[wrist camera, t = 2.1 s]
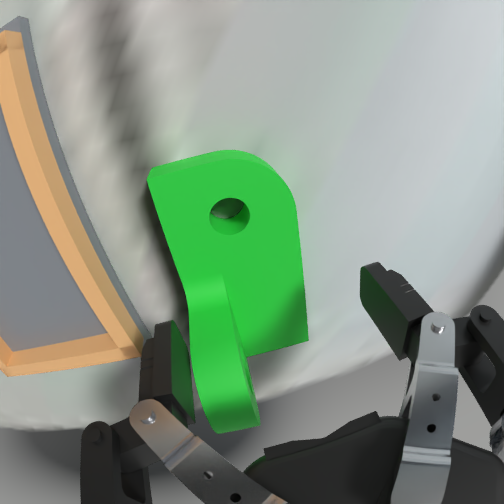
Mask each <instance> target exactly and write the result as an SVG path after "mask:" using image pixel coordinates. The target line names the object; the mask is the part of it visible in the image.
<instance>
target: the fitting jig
mask: <svg viewBox="0 0 504 504" xmlns="http://www.w3.org/2000/svg"><path fill="white" fill-rule="evenodd" d="M150 338H152V337H151V335H150V333H149V332H148V330H147V329H146V327H145V325H144V323H143V322H142V320H141V318H140V317H139V315H138V313H137V311H136V310H135V308H134V306H133V304H132V303H131V301H130V299H129V297H128V295H127V294H126V292H125V290H124V288H123V286H122V284H121V282H120V281H119V279H118V277H117V275H116V273H115V271H114V269H113V267H112V265H111V263H110V261H109V259H108V257H107V255H106V253H105V251H104V249H103V247H102V245H101V243H100V241H99V239H98V236H97V234H96V232H95V230H94V228H93V226H92V223H91V221H90V219H89V217H88V214H87V212H86V210H85V208H84V205H83V203H82V200H81V198H80V196H79V193H78V191H77V188H76V186H75V183H74V181H73V178H72V176H71V173H70V170H69V168H68V165H67V162H66V160H65V157H64V154H63V151H62V149H61V146H60V143H59V140H58V137H57V134H56V131H55V128H54V125H53V122H52V118H51V115H50V112H49V108H48V105H47V101H46V98H45V94H44V91H43V87H42V83H41V79H40V75H39V71H38V67H37V62H36V58H35V53H34V48H33V44H32V38H31V33H30V27H29V21H28V18H24V17H20V16H18V17H16V18H15V19H13V20H12V21H10V22H9V23H7V24H6V25H5V26H3V27H2V28H0V369H1V370H2V372H3V373H4V374H5V375H6V376H7V377H9V376H19V375H28V374H37V373H45V372H52V371H59V370H66V369H73V368H80V367H86V366H92V365H98V364H104V363H110V362H115V361H121V360H126V359H131V358H136V357H141V354H142V348H143V346H144V344H145V342H146V340H147V339H150Z"/></svg>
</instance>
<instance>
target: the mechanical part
mask: <svg viewBox="0 0 504 504" xmlns="http://www.w3.org/2000/svg"><path fill="white" fill-rule="evenodd" d="M147 182H148V186H149V189H150V192H151V195H152V198H153V201H154V204H155V207H156V211H157V214H158V217H159V220H160V223H161V225H162V228H163V231H164V234H165V237H166V240H167V243H168V246H169V248H170V251H171V254H172V257H173V260H174V262H175V265H176V268H177V271H178V273H179V276H180V279H181V281H182V284H183V287H184V291H185V294H186V299H187V303H188V310H189V334H190V353H191V361H192V368H193V373H194V378H195V383H196V387H197V391H198V394H199V398H200V401H201V404H202V407H203V410H204V412H205V415H206V417H207V419H208V421H209V423H210V425H211V427H212V429H213V430H214V431H215V432H216V433H218V434H220V433H226V432H231V431H236V430H241V429H246V428H251V427H255V426H259V425H260V417H259V411H258V407H257V402H256V398H255V393H254V389H253V384H252V380H251V375H250V371H249V366H248V362H247V357H249V356H253V355H257V354H261V353H265V352H269V351H273V350H277V349H281V348H284V347H288V346H292V345H295V344H299V343H302V342H306V341H309V339H308V325H307V313H306V300H305V289H304V278H303V267H302V257H301V247H300V238H299V229H298V220H297V211H296V205H295V201H294V198H293V196H292V193H291V191H290V189H289V188H288V186H287V185H286V183H285V182H284V181H283V180H282V178H281V177H280V176H279V175H278V174H277V173H276V172H275V170H274V169H273V168H272V167H271V166H270V165H269V164H267V163H266V162H265V161H264V160H262V159H260V158H259V157H257V156H255V155H252V154H250V153H247V152H243V151H237V150H221V151H215V152H211V153H207V154H203V155H198V156H194V157H191V158H187V159H183V160H179V161H175V162H172V163H168V164H164V165H161V166H157V167H154V168H152V169H151V171H150V173H149V175H148V178H147ZM225 198H236V199H239V200H241V201H243V202H244V205H243V208H242V209H241V211H240V212H239V213H238V214H237V215H236V216H234V217H231V218H227V219H223V218H218V217H216V216H214V215H213V214H212V213H211V212H210V211H211V209H212V207H213V206H214V205H215V204H216V203H217V202H218V201H220V200H222V199H225Z"/></svg>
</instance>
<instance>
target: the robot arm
mask: <svg viewBox="0 0 504 504" xmlns="http://www.w3.org/2000/svg"><path fill="white" fill-rule="evenodd" d="M360 299H361V302H362V305H363V307H364V308H365V310H366V311H367V313H368V314H369V316H370V317H371V319H372V320H373V321H374V323H375V324H376V326H377V327H378V329H379V330H380V332H381V333H382V335H383V336H384V338H385V339H386V341H387V342H388V344H389V345H390V347H391V348H392V350H393V352H394V353H395V355H396V356H397V358H398V359H399V360H402V359H404V358H406V357H408V358H409V359H410V361H411V362H410V366H409V372H408V378H407V384H406V389H405V394H404V399H403V403H402V407H401V410H400V413H399V417H396V416H383V417H379V416H378V414H377V412H376V411H374V412H372V413H370V414H367V415H365V416H362V417H360V418H357V419H355V420H353V421H350V422H348V423H347V424H345V425H344V426H342V427H341V428H339V429H338V430H336V431H335V432H333V433H331V434H330V435H328V436H327V437H325V438H321V439H310V440H298V441H290V442H287V443H283V444H279V445H276V446H272V447H268V448H264V453H265V455H264V456H262V457H260V458H259V459H257V460H256V461H255V462H253V463H252V464H251V465H250V466H248V467H247V468H246V470H245V471H244V472H241V471H240V470H238V469H237V468H236V467H235V466H233V465H232V464H231V463H229V462H228V461H227V460H226V459H224V458H223V457H222V456H221V455H219V454H218V453H217V452H216V451H214V450H213V449H212V448H211V447H210V446H208V445H207V444H206V443H205V442H203V440H201V439H200V438H199V437H198V436H196V435H194V434H192V432H190V431H189V430H188V426H187V425H188V424H194V423H195V414H194V404H193V393H192V381H191V369H190V357H189V352H188V348H187V346H186V343H185V341H184V340H183V338H182V336H181V334H180V332H179V330H178V328H177V326H176V324H175V322H174V321H173V320H171V321H167V322H163V323H159V324H156V325H155V332H154V338H150V339H147V340H146V342H145V344H144V346H143V348H142V354H141V361H142V362H141V370H140V385H139V402H138V403H137V404H136V405H135V406H134V407H133V408H132V410H131V412H130V416H129V417H128V418H126V419H124V420H122V421H120V422H118V423H115V424H113V425H111V426H109V425H108V424H107V423H105V422H102V421H96V422H93V423H91V424H89V425H88V426H87V427H86V428H85V430H84V431H83V434H82V439H81V467H80V471H81V472H80V478H81V479H80V488H81V489H80V490H81V504H152V497H151V490H150V482H149V474H148V466H149V465H151V464H153V463H156V462H158V461H160V460H162V461H163V462H164V465H165V466H166V467H167V468H168V469H169V470H170V472H171V473H172V474H173V475H175V477H176V478H177V479H178V480H180V481H181V482H182V483H183V484H184V485H185V486H186V487H187V488H188V489H189V490H190V491H191V492H192V493H193V494H194V495H195V496H197V497H198V498H199V499H200V500H201V501H202V502H203V503H204V504H504V320H503V319H502V318H501V317H500V316H499V314H498V313H497V312H496V311H495V310H494V309H493V308H491V307H489V306H485V305H479V306H476V307H474V308H473V309H472V311H471V313H470V316H469V317H463V318H456V319H452V318H451V317H450V316H448V315H447V314H445V313H442V312H434V311H433V310H432V309H431V308H430V306H429V305H428V304H427V303H426V302H425V301H424V299H423V298H422V297H421V296H420V295H419V294H418V293H417V292H416V290H414V288H413V287H412V286H411V285H410V284H408V282H407V281H406V279H405V278H404V277H403V276H402V275H401V274H399V273H397V272H395V271H393V270H389V271H386V269H385V268H384V267H383V266H382V265H381V264H380V263H379V262H375V263H372V264H369V265H366V266H363V267H361V271H360ZM486 355H487V356H488V357H487V356H486ZM489 359H490V360H489ZM491 362H492V363H491ZM493 365H494V366H493ZM458 371H459V372H460V374H461V375H462V377H463V378H464V380H465V382H466V383H467V385H468V387H469V388H470V390H471V392H472V393H473V395H474V397H475V398H476V400H477V402H478V403H479V405H480V407H481V409H482V410H483V412H484V414H485V416H486V418H487V419H488V421H489V423H490V425H491V427H492V428H491V430H490V447H491V448H492V452H491V451H487V450H485V449H482V448H479V447H477V446H474V445H471V444H468V443H465V442H463V441H460V440H458V439H455V438H453V436H452V435H453V430H454V422H455V412H456V403H457V391H458V390H457V389H458Z"/></svg>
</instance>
